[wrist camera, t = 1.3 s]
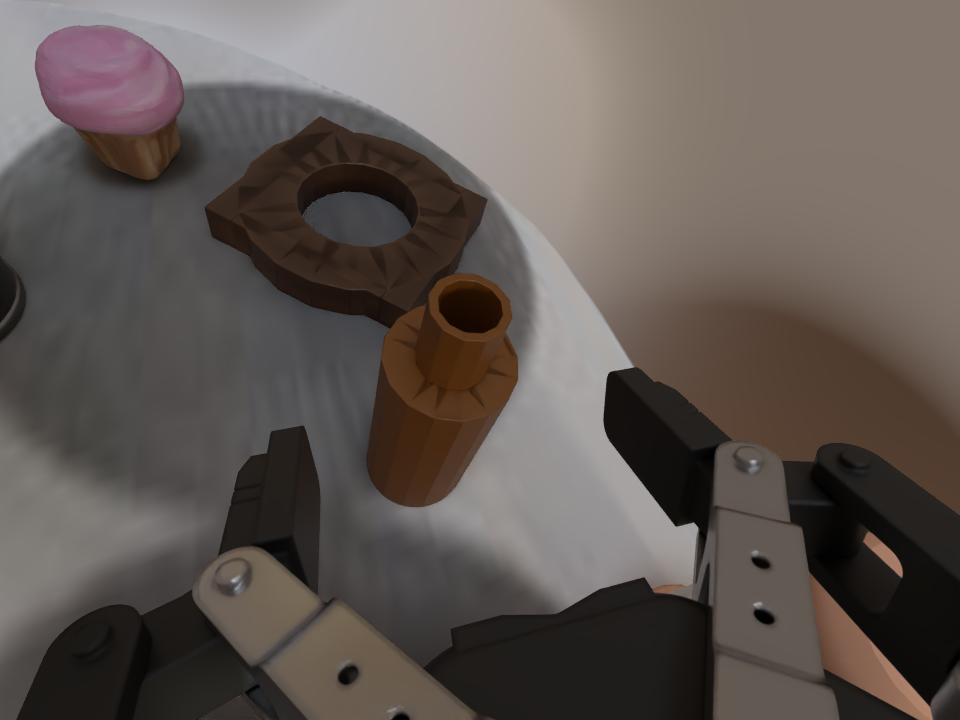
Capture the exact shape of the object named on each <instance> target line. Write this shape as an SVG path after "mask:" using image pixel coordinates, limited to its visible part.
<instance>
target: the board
mask: <svg viewBox="0 0 960 720" xmlns="http://www.w3.org/2000/svg"><path fill="white" fill-rule="evenodd" d="M341 191H362V192H366V193H370V194H373V195H377V196H380V197H382V198H384V199H386V200H388V201H390V202H392V203H393V204H394V205H396V206H397V207H398V208H399V209H400V210H401V211H403V212H404V213H405V215H406V217H407V218H408V220H409V221H410V223H411V224H412V229H411V230H410V231H409V233H408V234H407V235H405V236H404V237H402V238H400V239H398V240H397V241H395V242H393V243H389V244H385V245H381V246H376V247H355V246H351V245H346V244H342V243H338V242H334V241H332V240H330V239H328V238H326V237H324V236H322V235H320V234H318V233H317V232H316V231H315V230H314V229H313V228H312V227H310V226H309V225H308V224H307V223H306V222H305V221H304V219H303V217H302V214H303V211H304V209H305V208H306V207H307V206H309V205H310V204H311V203H312V202H313V201H314V200H316V199H318V198H320V197H322V196H325V195H327V194H330V193H336V192H341ZM486 203H487V199H486V198H484V197H482V196H480V195H478V194H476V193H474V192H472V191H470V190H468V189H465V188H464V187H462V186H460V185H458V184H456V183H454V182H453V181H452V180H451V179H450V177H449V176H448V174H446V173H445V172H444V171H443V170H442V169H440V168H439V167H438V166H437V165H435V164H434V163H433V162H432V161H430V160H429V159H428V158H427V157H425V156H424V155H422V154H420V153H418V152H416V151H414V150H412V149H410V148H408V147H406V146H404V145H402V144H400V143H397V142H394V141H391V140H387V139H383V138H380V137H376V136H372V135H369V134H362V133H353V132H351V131H349V130H347V129H345V128H343V127H341V126H339V125H337V124H335V123H333V122H331V121H329V120H327V119H325V118H323V117H321V116H320V117H318V118H317V119H316V120H315V121H313V122H312V123H311V124H310V125H308V126H307V127H306V128H304V129H303V130H302V131H301V132H299V133H298V134H297V135H296V136H294V137H293V138H292V139H290V140H287V141H285V142H282V143H279V144H277V145H274V146H273V147H271V148H270V149H269V150H267V151H266V152H265V153H264V154H262V155H261V156H260V157H258V158H257V159H256V160H254V161H253V162H252V163H251V164H250V166H249V168H248V169H247V171H246V173H245V175H244V177H242V178H241V179H240V180H239V181H237V182H236V183H235V184H233V185H232V186H231V187H230V188H228V189H227V190H226V191H225V192H223V193H222V194H221V195H220V196H218V197H217V198H216V199H214V200H213V201H212V202H211V203H209V204H208V205H207V206H206V207H205V212H206V215H207V219H208V223H209V226H210V230H211V234H212V236H213V237H215V238H217V239H218V240H220V241H222V242H224V243H226V244H228V245H230V246H232V247H234V248H237V249H238V250H240V251H242V252H244V253H246V254H248V255H250V256H251V259H252V261H253V263H254V265H255V266H256V267H257V268H258V269H259V270H260V271H261V272H262V273H263V274H264V275H265V276H266V277H267V278H268V279H269V280H270V281H271V282H272V283H273V284H274V285H275V286H276V287H277V288H278V289H280V290H281V291H283V292H285V293H287V294H289V295H291V296H293V297H295V298H297V299H299V300H301V301H303V302H305V303H307V304H308V305H310V306H313V307H317V308H322V309H326V310H331V311H335V312H340V313H344V314H350V315H353V314H365V315H367V316H369V317H371V318H372V319H374V320H376V321H379V322H380V323H382V324H384V325H386V326H388V327H390V328H391V327H392V326H393V324H394V323H395V322H396V320H397V319H398V318H399V317H401V316H403V315H405V314H406V313H408V312H410V311H411V310H413V309H415V308H417V307H419V306H424V304H425V303H426V301H427V299H428V295H429V293H430V291H431V290H432V289H433V287H434V286H435V284H436V283H437V281H438V280H440V279H442V278H445V277H448V276H450V275H452V274H453V273H454V271H455V270H456V268H457V267H458V265H459V261H460V258H461V254H462V251H463V248H464V246H465V245H466V243H467V242H468V241H469V239H470V238H471V236H472V235H473V233H474V232H475V230H476V229H477V228H478V226H479V225H480V222H481V219H482V216H483V213H484V209H485V206H486Z"/></svg>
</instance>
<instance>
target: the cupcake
mask: <svg viewBox="0 0 960 720" xmlns="http://www.w3.org/2000/svg"><path fill="white" fill-rule="evenodd" d="M35 71H36V76H37V79H38V82H39V87H40V91H41V94H42V97H43V99H44V102H45V104H46V106H47V107H48V109H49V111H50V112H51V113H52V114H53V115H54V116H55V117H57V118H58V119H60V120H61V121H62V122H64V123H66V124H68V125H70V126H72V127H73V128H74V129H75V130H76V131H77V132H78V133H79V135H80V136H81V137H82V138H83V139H84V141H85V142H86V143H87V144H88V145H89V147H90V148H91V149H92V150H93V151H94V153H95V154H96V155H97V156H98V157H99V158H100V159H101V161H102V162H103V163H105V164H106V165H107V166H108V167H111V168H113V169H116V170H118V171H121V172H123V173H126V174H129V175H131V176H133V177H137V178H140V179H144V180H152V179H155V178H157V177H158V176H159V175H160V174H161V173H162V171H163V170H164V169H165V168H166V167H167V166H168V164H169V162H170V161H171V159H173V158H174V157H175V156H176V155H177V154H178V152H179V149H180V137H179V132H178V127H177V120H176V116H177V115H178V114H179V112H180V111H181V109H182V106H183V102H184V91H183V84H182V80H181V77H180V75H179V73H178V71H177V70H176V68H175V67H174V66H173V65H172V64H171V63H170V62H169V61H168V60H167V59H166V58H165V57H164V55H163V54H162V53H160V52H159V51H158V50H156V49H155V48H154V47H153V46H152V45H151V44H149V43H148V42H146V41H145V40H143V39H142V38H140V37H138V36H136V35H134V34H133V33H130V32H128V31H126V30H124V29H121V28H117V27H113V26H105V25H95V26H72V27H67V28H64V29H61V30H59V31H56V32H54V33H53V34H51V35H49V36H48V37H47V38H46V39H45V40H44V41H43V42H42V43H41V44H40V45H39V47H38V49H37V51H36V61H35Z"/></svg>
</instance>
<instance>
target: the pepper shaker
mask: <svg viewBox="0 0 960 720" xmlns="http://www.w3.org/2000/svg"><path fill="white" fill-rule="evenodd" d="M863 542H864V543H865V544H866V545H867V546H868V547H869V548H870V549H871V550H872V551H873V552H875V553H876V554H877V555H878V556H879V557H880V558H881V559H882V560H883V561H884V562H885V563H886V564H887V565H888V566H890V567H891V568H892V569H893V570H894V571H895V572H896V573H897V574H898V575H899V576H900V577H901V578H902V575H903V570H902V566H901V564H900V561H899V560H898V558H897V556H896V555H895V554H894V553H893V552H892V551H891V550H890V549H889V548H888V547H887V546H886V545H885V544H883V543H882V542H881V541H880V540H879V539H878V538H877V537H876V536H875V535H873V534H872V533H867V534H866V536H865V539H864V541H863ZM809 577H810V584H811V590H812V597H813V604H814V610H815V617H816V624H817V630H818V637H819V644H820V651H821V657H822V664H823V668H824V669H826V670H828V671H830V672H832V673H833V674H835V675H837V676H839V677H841V678H843V679H844V680H846V681H848V682H850V683H852V684H854V685H856V686H857V687H859V688H861V689H863V690H865V691H867V692H868V693H870V694H872V695H874V696H876V697H878V698H880V699H881V700H883V701H885V702H887V703H889V704H891V705H892V706H894V707H896V708H898V709H900V710H902V711H903V712H905V713H907V714H909V715H911V716H913V717H915V718H916V719H918V720H933V718H932V714H931V708H930V707H929V705H928V704H927V703H926V702H925V701H924V700H923V699H922V698H921V696H920V695H919V694H918V693H917V692H916V691H915V690H914V689H913V688H912V686H911V685H910V684H909V683H908V682H907V681H906V680H905V679H904V677H903V676H902V675H901V674H900V673H899V672H898V671H897V670H896V669H895V667H894V666H893V665H892V664H891V663H890V662H889V661H888V660H887V658H886V657H885V656H884V655H883V654H882V653H881V652H880V651H879V650H878V648H877V647H876V646H875V645H874V644H873V643H872V642H871V641H870V639H869V638H868V637H867V636H866V635H865V634H864V633H863V632H862V631H861V629H860V628H859V627H858V626H857V625H856V624H855V623H854V622H853V620H852V619H851V618H850V617H849V616H848V615H847V614H846V613H845V612H844V610H843V609H842V608H841V607H840V606H839V605H838V604H837V603H836V601H835V600H834V599H833V598H832V597H831V596H830V595H829V594H828V593H827V591H826V590H825V589H824V588H823V587H822V586H821V585H820V584H819V582H818V581H817V580H816V579H815V578H814V577H813V576H812V575H811V574H810V572H809ZM692 588H693V584H691V585H688V586H684V585H664V586H660V587H657V588H654V589H652V590H653V592H654V593H666V594H673V595H678V596H683V597H686V598H689V599H692Z"/></svg>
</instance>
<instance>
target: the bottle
mask: <svg viewBox="0 0 960 720" xmlns="http://www.w3.org/2000/svg"><path fill="white" fill-rule="evenodd" d="M511 320H512V313H511V307H510V301H509V299H508V298H507V296H506V295H505V294H504V293H503V291H502V290H501V289H500V288H499V287H498V285H496V284H495V283H493V282H491V281H489V280H487V279H485V278H483V277H481V276H479V275H475V274H463V273H457V274H456V273H455V274H453V275H450V276H448V277H445V278H442V279H440V280H438V281H437V283H436V284H435V286H434V287H433V289H432V290H431V291H430V293H429V295H428V299H427V303H426V305H425V306H419V307H417V308H415V309H413V310H411V311H410V312H408V313H406V314H405V315H403V316H401V317H399V318H398V319H397V320H396V322H395V323H394V324H393V326H392V327H391V329H390V330H389V331H388V333H387V334H386V336H385V338H384V343H383V350H382V357H381V363H380V370H379V377H378V384H377V391H376V398H375V405H374V412H373V419H372V426H371V433H370V439H369V446H368V453H367V467H368V472H369V475H370V478H371V480H372V482H373V484H374V485H375V486H376V488H377V489H378V490H379V491H380V492H381V493H382V494H383V495H384V496H385V497H386V498H388V499H390V500H391V501H393V502H395V503H397V504H400V505H404V506H409V507H422V506H427V505H431V504H434V503H436V502H438V501H440V500H442V499H443V498H445V497H446V496H447V495H448V494H449V493H450V492H451V491H452V490H453V489H454V488H455V487H456V485H457V484H458V482H459V481H460V479H461V477H462V476H463V474H464V472H465V471H466V469H467V467H468V466H469V464H470V462H471V461H472V459H473V457H474V456H475V454H476V453H477V451H478V449H479V448H480V446H481V444H482V443H483V441H484V439H485V438H486V436H487V434H488V433H489V431H490V430H491V428H492V426H493V425H494V423H495V421H496V420H497V418H498V416H499V415H500V413H501V411H502V410H503V408H504V407H505V405H506V403H507V402H508V400H509V398H510V396H511V394H512V392H513V389H514V387H515V385H516V383H517V381H518V358H517V355H516V353H515V351H514V348H513V346H512V344H511V342H510V340H509V338H508V336H507V335H506V334H505V332H506V330H507V328H508V326H509V324H510V322H511Z"/></svg>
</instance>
